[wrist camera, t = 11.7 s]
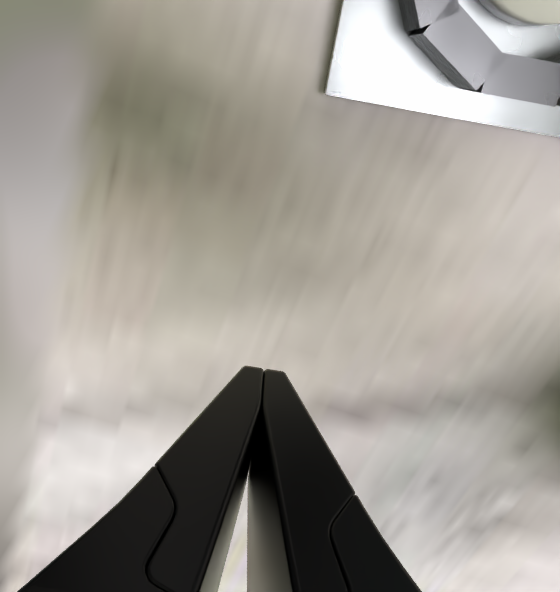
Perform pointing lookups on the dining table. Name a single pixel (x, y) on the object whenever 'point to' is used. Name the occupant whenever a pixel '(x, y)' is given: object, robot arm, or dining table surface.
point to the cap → (525, 11)
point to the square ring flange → (448, 62)
